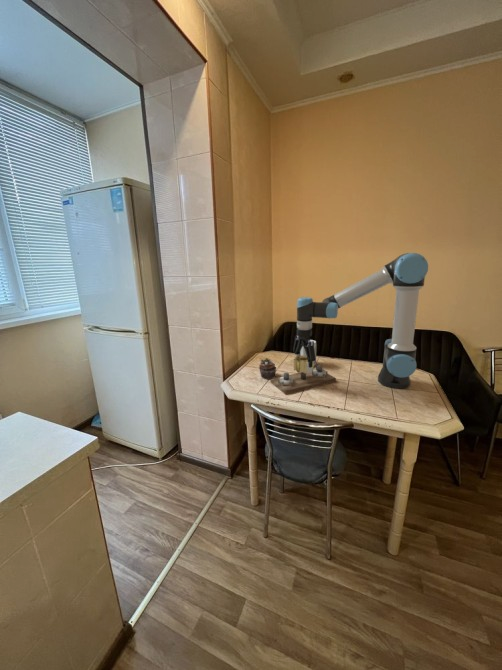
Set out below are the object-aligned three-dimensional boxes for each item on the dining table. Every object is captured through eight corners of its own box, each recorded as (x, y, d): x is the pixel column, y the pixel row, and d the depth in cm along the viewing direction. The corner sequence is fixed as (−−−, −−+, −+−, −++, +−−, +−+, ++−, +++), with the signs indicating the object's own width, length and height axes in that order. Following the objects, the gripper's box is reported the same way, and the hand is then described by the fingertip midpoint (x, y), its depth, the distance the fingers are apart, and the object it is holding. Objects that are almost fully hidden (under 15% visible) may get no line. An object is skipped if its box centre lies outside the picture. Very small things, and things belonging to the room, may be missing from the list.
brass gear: (316, 371, 145) (317, 360, 144) (300, 374, 141) (301, 363, 140) (305, 364, 154) (306, 354, 152) (290, 368, 150) (290, 357, 149)
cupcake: (270, 381, 152) (270, 363, 150) (256, 376, 158) (255, 360, 155) (279, 374, 160) (279, 358, 157) (265, 371, 165) (265, 355, 163)
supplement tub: (319, 364, 172) (320, 341, 168) (308, 368, 167) (308, 345, 163) (307, 360, 180) (308, 338, 176) (296, 363, 175) (297, 341, 171)
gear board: (335, 381, 149) (336, 369, 147) (285, 394, 137) (285, 381, 135) (318, 371, 162) (318, 360, 160) (271, 382, 150) (270, 370, 148)
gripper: (286, 324, 150) (286, 363, 156) (311, 334, 130) (309, 378, 136) (298, 322, 153) (297, 361, 159) (324, 332, 133) (322, 375, 139)
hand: (303, 369), depth 148 cm, fingers closed on brass gear, 10 cm apart
